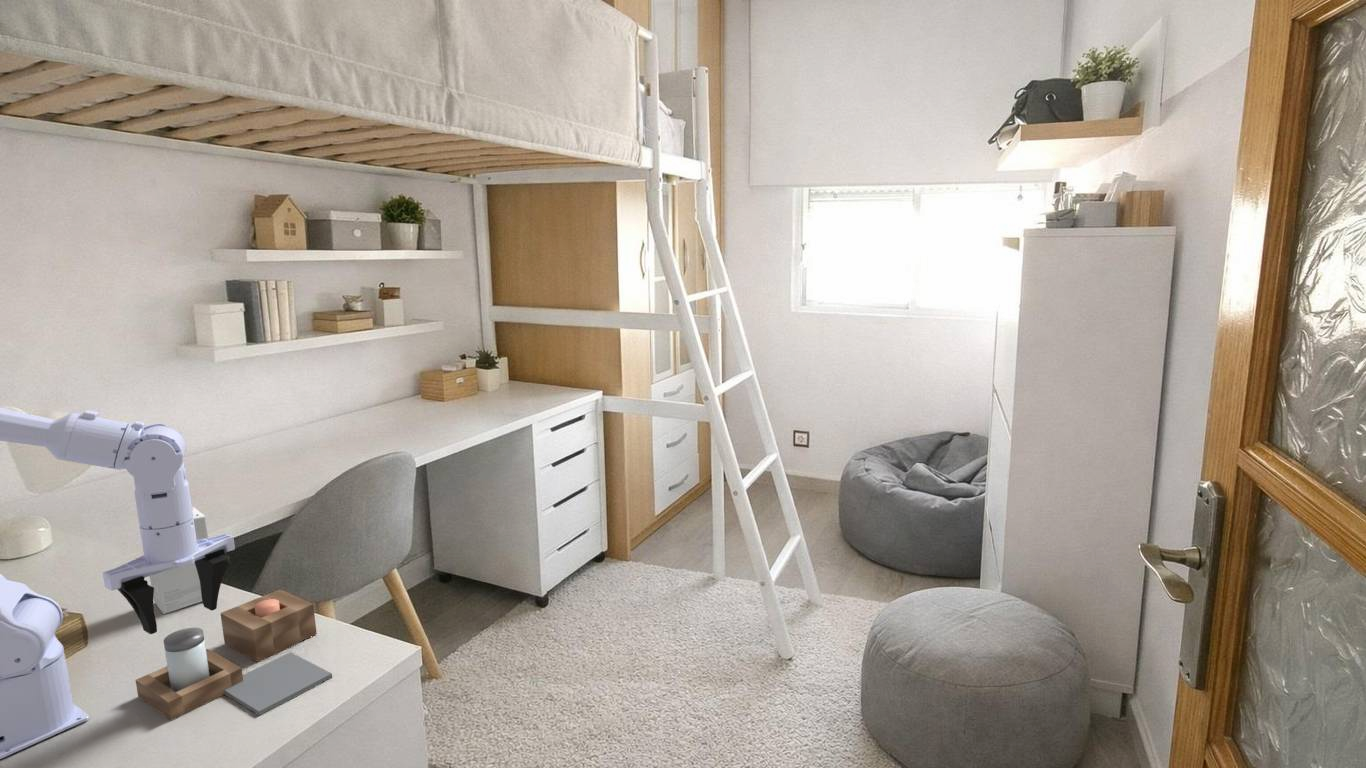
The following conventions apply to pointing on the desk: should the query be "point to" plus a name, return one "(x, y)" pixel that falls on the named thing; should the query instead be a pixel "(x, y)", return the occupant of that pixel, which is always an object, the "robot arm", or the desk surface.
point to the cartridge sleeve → (178, 703)
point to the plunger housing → (268, 626)
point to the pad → (276, 683)
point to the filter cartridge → (186, 658)
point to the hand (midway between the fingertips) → (181, 619)
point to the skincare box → (180, 578)
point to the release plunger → (266, 607)
